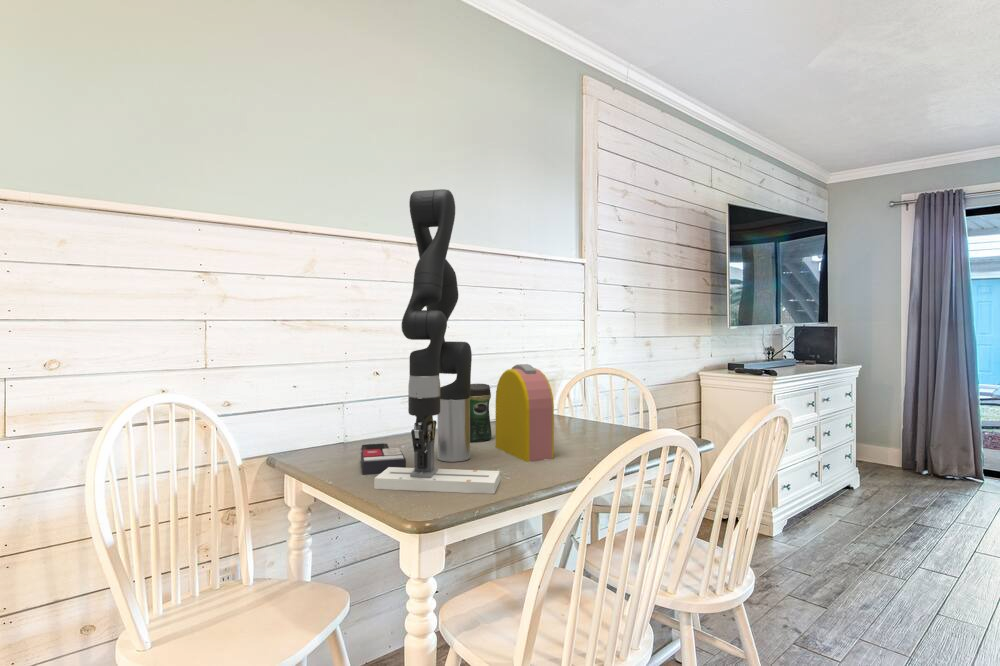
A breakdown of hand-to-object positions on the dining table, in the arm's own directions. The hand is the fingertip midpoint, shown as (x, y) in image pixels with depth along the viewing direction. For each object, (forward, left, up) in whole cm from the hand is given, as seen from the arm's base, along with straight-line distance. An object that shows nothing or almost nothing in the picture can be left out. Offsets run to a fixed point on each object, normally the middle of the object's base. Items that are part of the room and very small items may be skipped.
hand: (424, 466), depth 130 cm
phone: (-31, -23, -5) cm, 39 cm away
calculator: (-15, -16, -5) cm, 22 cm away
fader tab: (0, 0, -2) cm, 2 cm away
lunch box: (-36, +21, -5) cm, 42 cm away
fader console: (0, +4, -4) cm, 6 cm away
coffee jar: (-52, +4, -5) cm, 52 cm away
